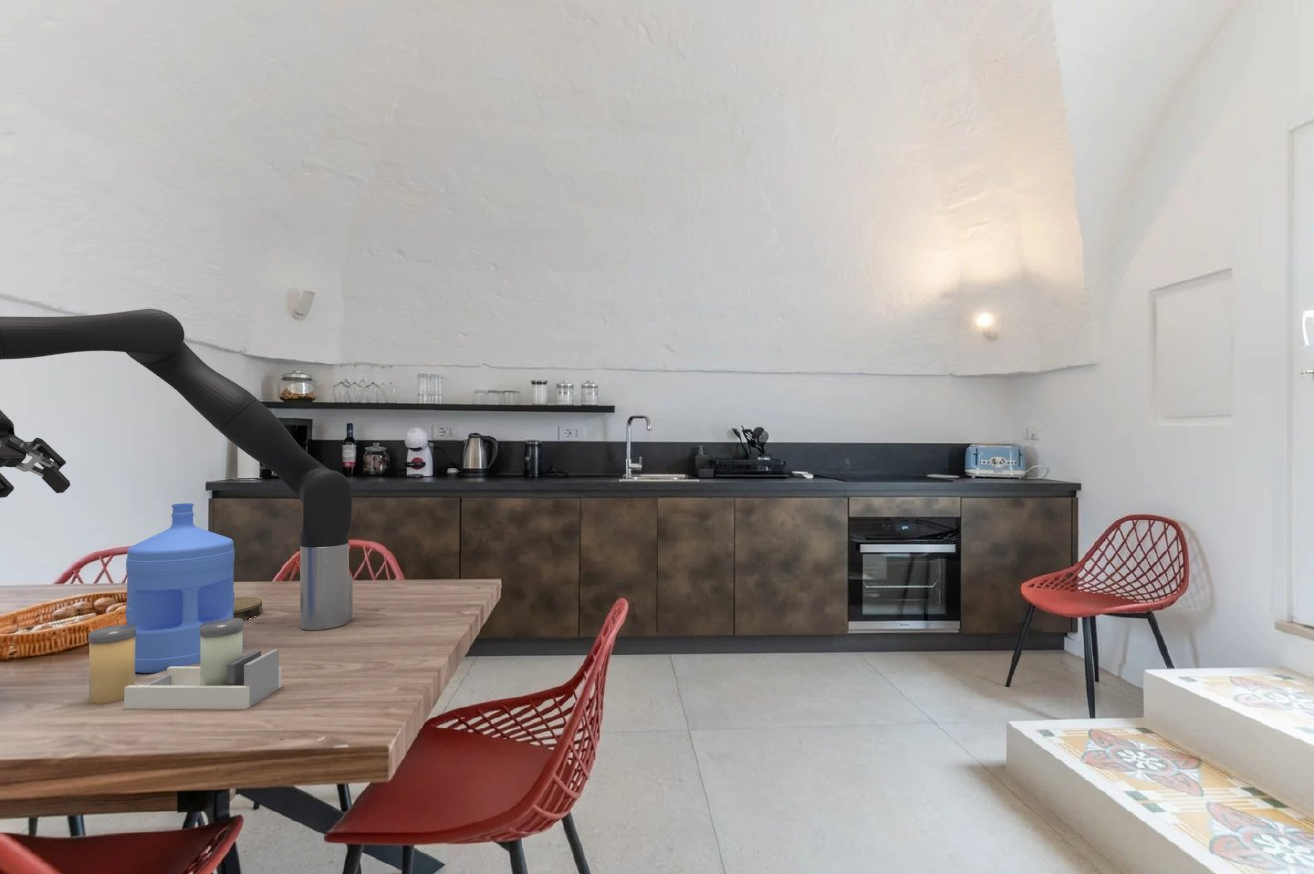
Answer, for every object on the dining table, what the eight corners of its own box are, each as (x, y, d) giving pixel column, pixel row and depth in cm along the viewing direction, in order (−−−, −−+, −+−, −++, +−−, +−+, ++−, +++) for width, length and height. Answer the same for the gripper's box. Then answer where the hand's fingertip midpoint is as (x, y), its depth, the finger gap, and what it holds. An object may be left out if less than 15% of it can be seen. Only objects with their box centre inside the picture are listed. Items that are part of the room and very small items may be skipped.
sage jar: (227, 687, 97) (227, 616, 97) (251, 692, 95) (251, 620, 95) (190, 701, 92) (190, 626, 92) (215, 706, 90) (215, 630, 90)
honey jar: (121, 693, 97) (122, 623, 97) (144, 698, 95) (144, 626, 96) (79, 707, 92) (80, 633, 92) (102, 713, 90) (102, 636, 90)
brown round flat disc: (217, 608, 149) (218, 595, 149) (278, 610, 147) (278, 597, 147) (155, 627, 133) (155, 613, 133) (222, 630, 131) (222, 616, 131)
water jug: (119, 660, 113) (119, 504, 113) (222, 639, 124) (223, 498, 124) (133, 682, 102) (133, 510, 102) (244, 658, 113) (245, 503, 114)
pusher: (227, 704, 91) (227, 664, 91) (254, 688, 97) (254, 650, 97) (239, 704, 91) (239, 664, 91) (266, 688, 97) (266, 650, 97)
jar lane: (124, 715, 90) (124, 666, 90) (170, 691, 98) (170, 647, 98) (245, 715, 89) (245, 666, 89) (281, 692, 98) (281, 647, 98)
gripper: (-75, 394, 87) (5, 476, 87) (28, 401, 102) (98, 471, 101) (-113, 432, 87) (-33, 514, 87) (-4, 434, 102) (65, 504, 101)
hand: (37, 491), depth 94 cm, fingers open, 8 cm apart
